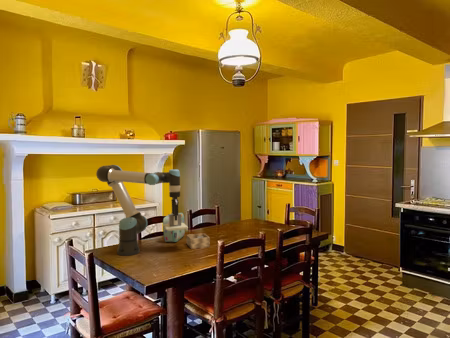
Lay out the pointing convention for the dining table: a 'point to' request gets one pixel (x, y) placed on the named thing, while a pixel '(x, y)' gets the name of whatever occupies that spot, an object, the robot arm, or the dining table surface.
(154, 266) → the dining table surface
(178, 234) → the lunch box
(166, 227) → the lid
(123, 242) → the robot arm
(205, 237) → the crate
